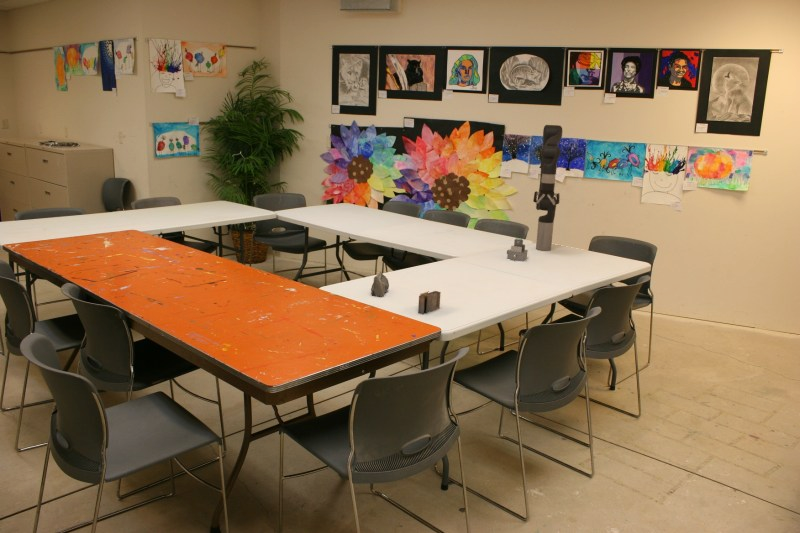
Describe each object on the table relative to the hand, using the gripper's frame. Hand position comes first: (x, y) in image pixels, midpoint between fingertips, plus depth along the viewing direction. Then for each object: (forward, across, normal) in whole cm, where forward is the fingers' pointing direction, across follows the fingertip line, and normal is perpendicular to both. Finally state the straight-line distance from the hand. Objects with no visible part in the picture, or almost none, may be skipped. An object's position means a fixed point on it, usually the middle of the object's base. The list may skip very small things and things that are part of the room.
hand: (545, 210), depth 381 cm
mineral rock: (+28, +46, +117) cm, 129 cm away
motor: (+28, +13, +9) cm, 32 cm away
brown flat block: (+29, +18, +131) cm, 135 cm away
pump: (+23, +12, +8) cm, 27 cm away
